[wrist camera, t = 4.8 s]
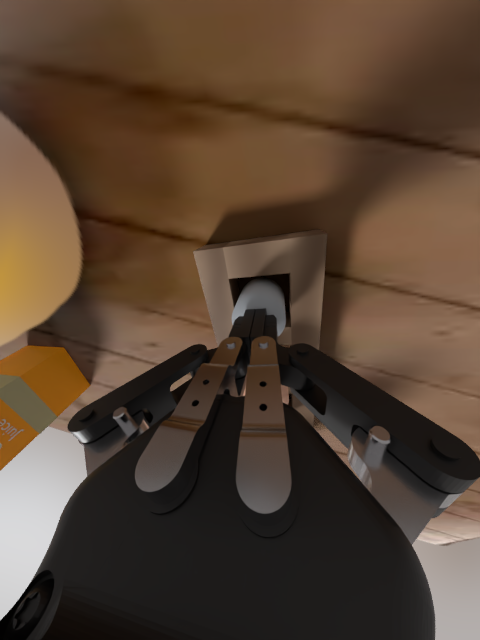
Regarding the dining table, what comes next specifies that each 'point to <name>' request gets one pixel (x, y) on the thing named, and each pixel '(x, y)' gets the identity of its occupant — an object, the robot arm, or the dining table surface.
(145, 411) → the robot arm
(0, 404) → the orange juice
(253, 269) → the tan frame
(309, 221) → the dining table surface
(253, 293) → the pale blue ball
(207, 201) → the dining table surface
